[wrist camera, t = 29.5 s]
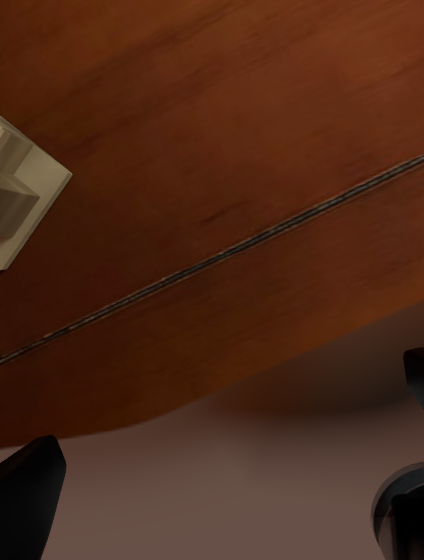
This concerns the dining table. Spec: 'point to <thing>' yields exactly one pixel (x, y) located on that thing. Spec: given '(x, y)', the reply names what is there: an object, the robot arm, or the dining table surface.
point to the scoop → (24, 189)
